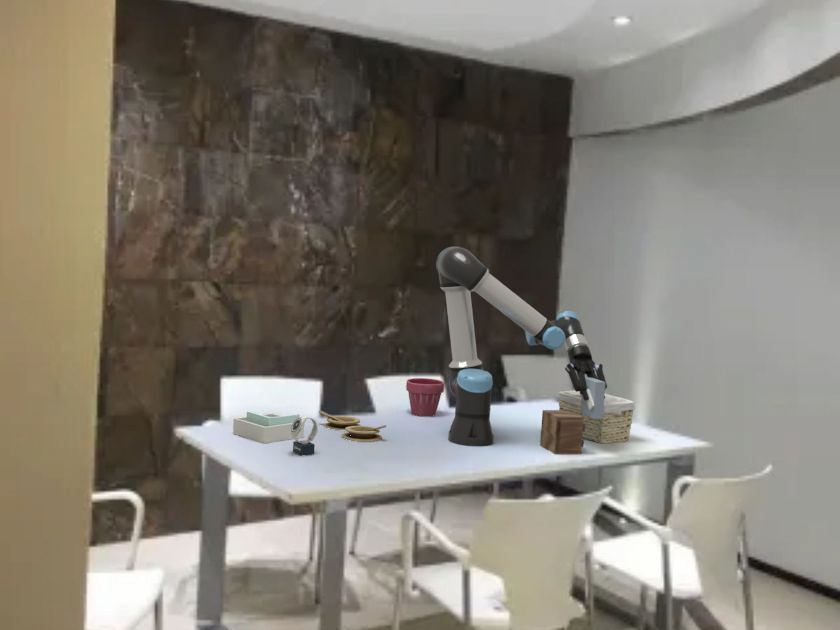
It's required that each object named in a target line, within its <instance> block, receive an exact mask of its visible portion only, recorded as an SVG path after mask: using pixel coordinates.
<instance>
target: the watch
mask: <svg viewBox="0 0 840 630" xmlns="http://www.w3.org/2000/svg"><path fill="white" fill-rule="evenodd" d="M307 420H310V421H312V424H313V426H312V429H311V431H310V433H309V435H308V437H307V439H305V440H299V438H297V437H296V436H298V433H300V431H301V430H302V429H303V427H304V428H305V422H306V421H307ZM318 431H319V425H318V423H317V421H316V420H315V418H312V417H309V416H308V415H307V416H306V415H305V416H304V415H302V416H300V418H297V419H296V420H295V421H294V422H293V424H292V426H291V434H292V437H293V439H292V440H294V441H293V443H292V452H293V453H294V454H297V455H298V456H300V455H301V457H303V456H302V455H305V456H313V455H312V454H314V455H315V443H312V441H314V439H315V438H316V436H317V433H318Z"/></svg>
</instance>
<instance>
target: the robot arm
mask: <svg viewBox="0 0 840 630" xmlns="http://www.w3.org/2000/svg"><path fill="white" fill-rule="evenodd" d="M435 265H436V266H435V267H436V271H437V273H438V277H439V278H438V280H439V287H440V289H441V290H442V291H443V292H444V294H445V302H446V309H447V311H446V312H447V317H448V318H447V320H448V329H449V338H450V348H451V356H452V361H451V362H450V363H449V364H448V370H449V371H448V372H449V379H448V381H449V382H448V387H449V390H450V392H451V394H452V395H453V397H454V398H455V407H454V409H455V410H454V411H455V412H454V418H453V421H452V424H451V426H450V428H449V431H448V437H447V439H448V441H449V442H452V443H455V444H458V445H464V446H475V447H477V446H478V447H480V446H488V445H492V444H493V443H494V439H495V437H494V432H493V428H492V424H491V419H490V418H491V416H490V415H491V404H492V392H493V391H492V390H493V384H494V383H493V376H492V374H491V373H490V372H489V371H487V370H484V368H483V362H482V361H481V360H480V359H479V358H478V354H477V353H478V352H477V343H476V335H475V333H476V332H475V325H474V316H473V314H474V313H473V306H472V296H471V295H472V294H471V292H475V293H476V294H478V295H479V296H480V297H481V298H483V299H484V300H486V302H488V303H489V304H490V305H492V306H493V307H494V308H495V309H497V310H498V311H500V313H502V314H503V315H504V316H506V318H508V319H510V320H511V321H513V322H514V323H515V324H516V325H517V326H519V327H520V328H522V329H523V330H524V332H525V333H524V334H525V338H526V342H527V344H528V345H529V346H539V345H542V346H544V347H545V348H547V349H548V350H559V349H561V348H562V347H563V346H564V347H565V349H566V352H567V355H568V359H569V362H570V363H567V364H566V366H565V368H564V370H565V371H566V372H567V374H568V376H569V379H570V381H571V383H572V386H573V389H574V390H575V391H576V392H578V391H580V394H581V395H583V398H584V400H586V401H587V404H588V407H589V410H592V409H593V407H594V406H595V405H594V402H593V399H592V396H591V393H590V390H589V389H587V390H586V381H585V378H595V379H598V380H600V381H603V382H605V390H606V389H607V388H608V385H607V384H608V383H607V381H606V378H605V374H604V371H603V369H604V368H603V367H604V365H603V364H602V363H599V364H596V363H595V361H594V360H593V356H592V352H591V350H590V348H589V344H588V341H587V339H586V336H585V333H584V329H583V327H582V323H581V321H580V319H579V317H578V315H577V313H576V312H575V311H573V310H566V311H563V312H561V313H559V314H558V315H557V317H556V319H555V320H549V319H547V318H546V317H545V316H544V315H542V313H540V312H539V311H538V310H536V309H535V308H534V307H532V306H531V305H530V304H528V303H527V302H526V301H525V300H523V299H522V298H521V297H520V296H519V295H517V294H516V293H515V292H513V291H512V290H511V289H509V288H508V287H507V286H506V285H504V284H503V283H502V282H501V281H500V280H499V279H497V278H496V277H495V276H493V275H492V274H491V273H489V272H490V270H489V268H488V267H487V266H485V265H484V264H483V263H482V262H481V261H480V260H479V259H478V257H476V256H475V255H474V254H473V253H472V252H471V251H470V250H468V249H466V248H464V247H461V246H450V247H449V246H448V247H446V248H445V249H443V250H442V251H441V252H440V253H439V254H438V256H437V259H436V263H435ZM604 399H605V395H604ZM605 407H606V403H605V400H604V408H605ZM604 408H603V410H604Z"/></svg>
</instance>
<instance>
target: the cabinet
mask: <svg viewBox="0 0 840 630" xmlns="http://www.w3.org/2000/svg"><path fill="white" fill-rule="evenodd" d="M541 414H542V417H541V427H540V441H539V446H540V447H542V448H544V449H545V450H547V451H549V452H551V453H553V454H554V455H581V454H582V448H584V446H585V438H582V433H583V432H585V424H583V421H584V417H581V416H579V415H577V414H575V413H572V412H570V411H568V410H559V409H542V413H541Z"/></svg>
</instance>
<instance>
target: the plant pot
mask: <svg viewBox="0 0 840 630" xmlns="http://www.w3.org/2000/svg"><path fill="white" fill-rule="evenodd" d="M405 390H406V392H408V393H407V394H408V398H409V399H408V400H409V406H410V412H411V414H412V416H416V415H417V416H416V417H423V416H430V417H434V416H436V414H437V410H438V407H439V404H440V400H441V396H442V393H444V391H445V382H444V381H442V380H440V379H435V378H425V377H424V378H422V377H417V378H416V377H413V378H408V379H407V380H406V385H405ZM433 415H434V416H433Z"/></svg>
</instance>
